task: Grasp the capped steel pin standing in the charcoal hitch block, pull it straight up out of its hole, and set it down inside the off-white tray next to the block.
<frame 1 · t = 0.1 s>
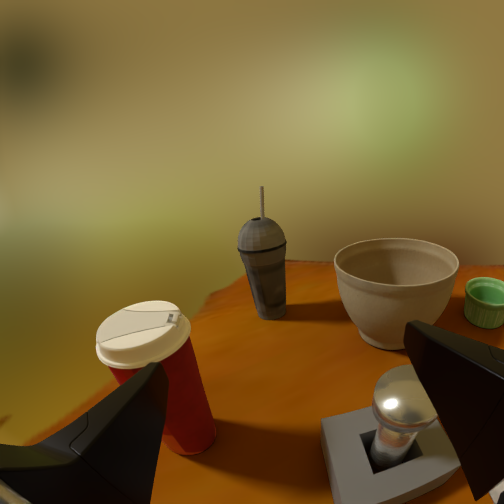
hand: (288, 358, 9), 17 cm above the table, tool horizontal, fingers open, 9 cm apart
planter bowl: (392, 331, 33), on the table
ramekin: (484, 316, 29), on the table
beverage cup: (272, 313, 44), on the table
hitch block: (381, 466, 15), on the table
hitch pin: (394, 437, 13), in the hitch block
paper cup: (189, 435, 22), on the table
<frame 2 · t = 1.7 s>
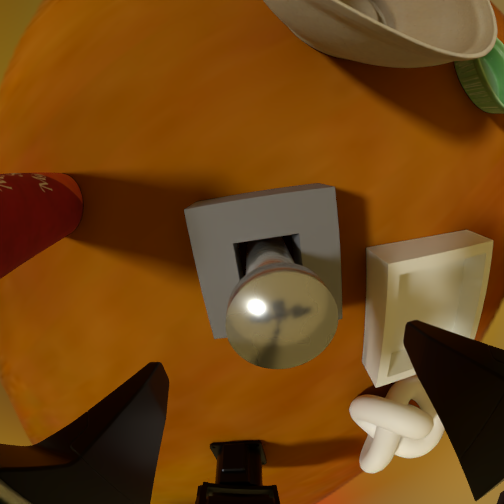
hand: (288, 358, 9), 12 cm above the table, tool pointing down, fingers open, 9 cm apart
planter bowl: (336, 16, 15), on the table
white knot sculpture: (380, 402, 27), on the table
ramekin: (476, 78, 16), on the table
tray: (419, 298, 22), on the table
hitch block: (266, 250, 21), on the table
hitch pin: (272, 277, 16), in the hitch block
paper cup: (60, 204, 19), on the table
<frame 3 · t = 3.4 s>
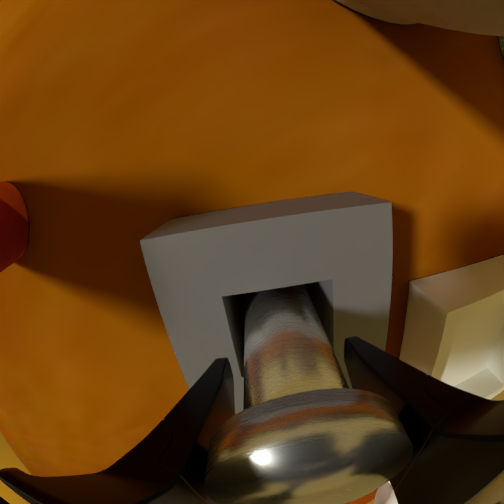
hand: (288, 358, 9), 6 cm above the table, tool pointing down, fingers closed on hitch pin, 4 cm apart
white knot sculpture: (399, 443, 20), on the table
tray: (460, 335, 16), on the table
hitch block: (274, 290, 14), on the table
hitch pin: (287, 353, 9), in the hitch block, touching gripper
paper cup: (7, 221, 13), on the table
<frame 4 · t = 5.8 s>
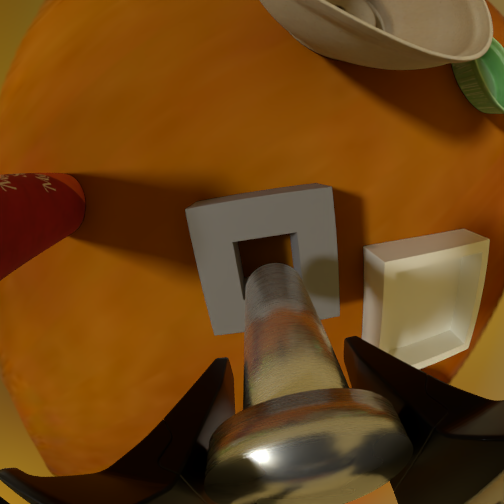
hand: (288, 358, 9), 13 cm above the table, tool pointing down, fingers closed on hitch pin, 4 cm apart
planter bowl: (335, 18, 16), on the table
ramekin: (473, 78, 16), on the table
tray: (416, 296, 23), on the table
hitch block: (265, 249, 21), on the table
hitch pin: (287, 353, 9), point 13 cm above the table, touching gripper
paper cup: (63, 204, 20), on the table
when the fingers open (8 cm above the table, at t = 8.5 s): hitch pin drops 1 cm, resting on tray.
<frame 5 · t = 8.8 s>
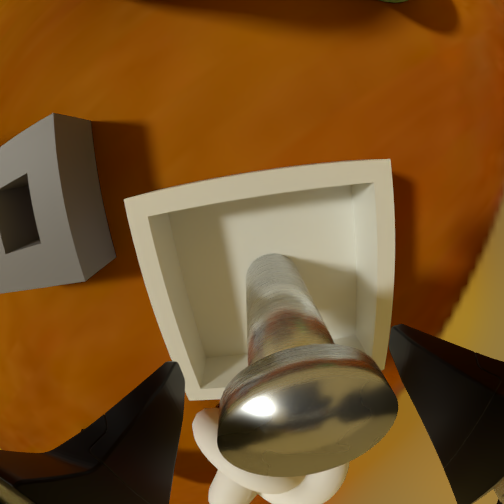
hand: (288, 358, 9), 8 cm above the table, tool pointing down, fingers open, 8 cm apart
white knot sculpture: (260, 421, 21), on the table
tray: (271, 272, 16), on the table
hitch block: (51, 205, 15), on the table
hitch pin: (285, 330, 10), in the tray, point 6 cm above the table
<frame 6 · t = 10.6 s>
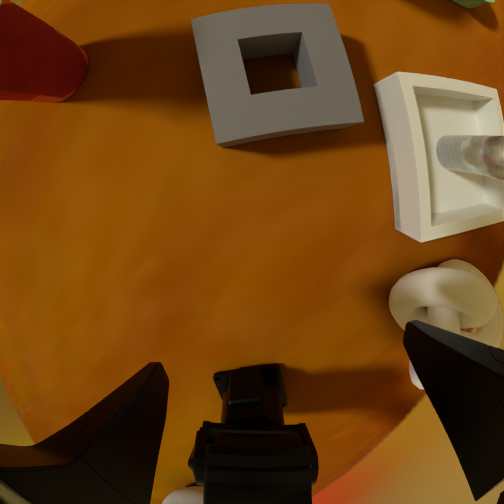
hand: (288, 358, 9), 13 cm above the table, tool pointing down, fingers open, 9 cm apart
white knot sculpture: (420, 303, 23), on the table
serving bowl: (219, 491, 36), on the table
tray: (441, 152, 18), on the table
hitch block: (271, 79, 17), on the table
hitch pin: (490, 156, 12), in the tray, point 6 cm above the table
paper cup: (65, 75, 16), on the table
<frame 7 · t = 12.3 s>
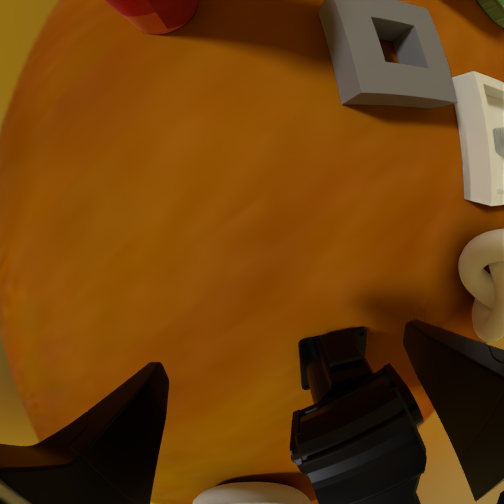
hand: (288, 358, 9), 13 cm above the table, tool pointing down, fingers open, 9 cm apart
white knot sculpture: (476, 271, 23), on the table
ramekin: (488, 6, 12), on the table
serving bowl: (251, 489, 35), on the table
tray: (492, 141, 18), on the table
hitch block: (379, 57, 16), on the table
paper cup: (165, 12, 15), on the table
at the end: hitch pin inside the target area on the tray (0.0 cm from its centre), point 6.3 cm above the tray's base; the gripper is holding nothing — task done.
